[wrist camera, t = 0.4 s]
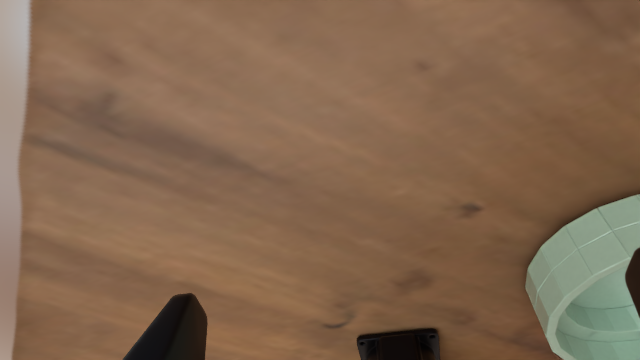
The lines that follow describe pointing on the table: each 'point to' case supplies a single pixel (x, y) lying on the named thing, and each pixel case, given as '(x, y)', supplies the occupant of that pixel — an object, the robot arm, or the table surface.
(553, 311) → the bowl
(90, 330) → the table surface
